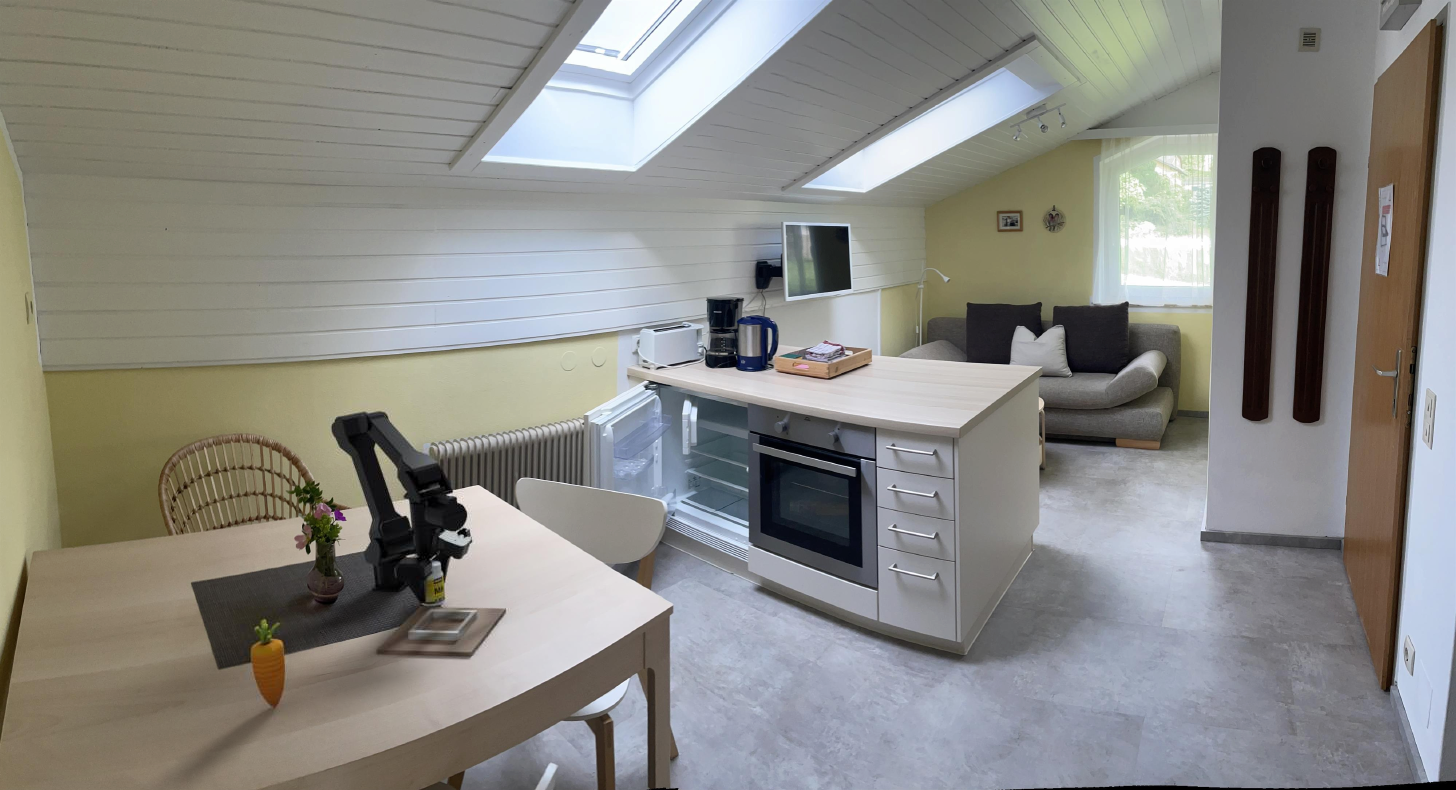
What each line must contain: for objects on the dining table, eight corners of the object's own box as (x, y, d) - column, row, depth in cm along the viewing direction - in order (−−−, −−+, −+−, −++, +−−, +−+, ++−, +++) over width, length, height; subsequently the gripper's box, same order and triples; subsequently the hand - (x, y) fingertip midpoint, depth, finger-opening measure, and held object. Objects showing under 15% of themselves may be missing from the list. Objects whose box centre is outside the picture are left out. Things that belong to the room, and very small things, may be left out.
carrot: (265, 699, 140) (254, 615, 137) (296, 697, 140) (285, 613, 137) (251, 716, 135) (239, 629, 132) (284, 714, 135) (272, 627, 132)
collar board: (376, 653, 154) (375, 642, 154) (420, 610, 172) (419, 599, 171) (471, 656, 153) (470, 644, 152) (506, 612, 170) (505, 601, 170)
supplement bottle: (437, 608, 173) (434, 569, 171) (417, 606, 174) (413, 568, 172) (450, 598, 178) (446, 560, 176) (429, 596, 178) (426, 559, 177)
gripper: (444, 538, 162) (451, 613, 165) (481, 507, 181) (486, 575, 184) (389, 537, 163) (397, 612, 166) (431, 506, 182) (437, 574, 185)
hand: (432, 593), depth 175 cm, fingers open, 9 cm apart
